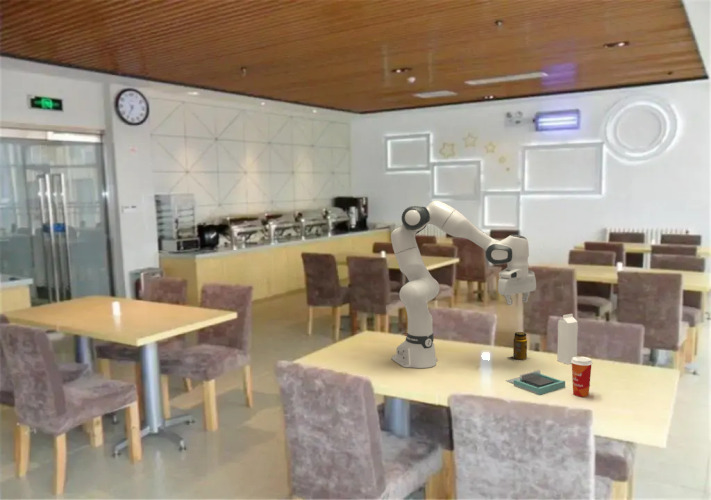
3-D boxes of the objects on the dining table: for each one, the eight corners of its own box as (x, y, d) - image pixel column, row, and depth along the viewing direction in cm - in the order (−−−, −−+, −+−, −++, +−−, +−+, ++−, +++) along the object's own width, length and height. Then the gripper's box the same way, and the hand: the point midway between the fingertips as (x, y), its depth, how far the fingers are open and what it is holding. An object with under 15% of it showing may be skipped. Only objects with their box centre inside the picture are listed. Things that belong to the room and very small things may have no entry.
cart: (519, 383, 235) (519, 375, 235) (538, 378, 241) (538, 370, 241) (537, 390, 228) (537, 381, 227) (556, 384, 233) (556, 375, 233)
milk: (557, 361, 267) (557, 313, 264) (566, 359, 269) (567, 312, 267) (567, 364, 261) (568, 316, 259) (577, 362, 264) (577, 314, 262)
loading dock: (502, 383, 241) (502, 375, 240) (527, 376, 249) (527, 368, 248) (539, 397, 225) (539, 388, 224) (565, 389, 232) (565, 381, 232)
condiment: (530, 358, 271) (531, 333, 270) (518, 362, 266) (518, 336, 265) (518, 355, 277) (518, 330, 276) (506, 358, 272) (506, 333, 271)
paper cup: (566, 391, 228) (567, 356, 226) (585, 390, 229) (586, 355, 227) (575, 398, 220) (576, 362, 219) (595, 397, 221) (596, 361, 219)
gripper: (528, 269, 262) (528, 299, 264) (495, 273, 252) (495, 304, 253) (539, 270, 257) (539, 301, 259) (506, 275, 246) (506, 307, 248)
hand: (517, 303), depth 256 cm, fingers open, 8 cm apart
